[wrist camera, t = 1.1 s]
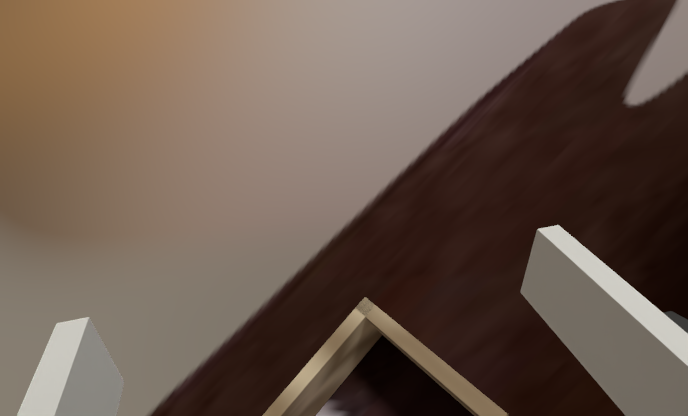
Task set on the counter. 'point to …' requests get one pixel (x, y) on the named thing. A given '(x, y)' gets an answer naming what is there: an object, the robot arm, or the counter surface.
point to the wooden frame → (349, 349)
